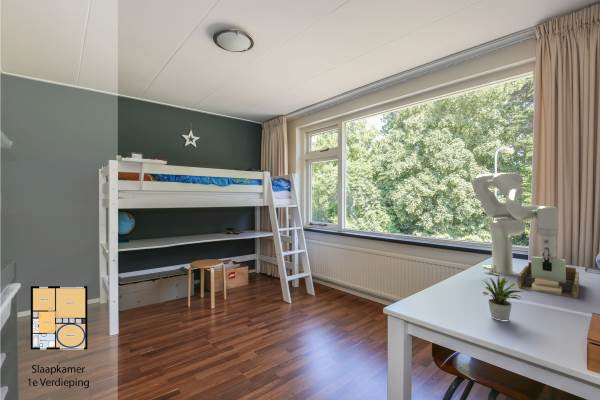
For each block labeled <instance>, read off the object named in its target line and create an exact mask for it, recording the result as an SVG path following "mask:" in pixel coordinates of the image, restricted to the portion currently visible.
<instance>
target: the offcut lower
mask: <svg viewBox="0 0 600 400" xmlns="http://www.w3.org/2000/svg"><path fill="white" fill-rule="evenodd" d="M532 290H535V291H534V292H537V291H540V292H539V293H543V292H546V293H545V294H549V293H552V294H551V295H554V294H558V295H557V296H560V295H562V286H559V288H558V289H557V288H551V287H545V286H538V285H535V282H533V284H532Z"/></svg>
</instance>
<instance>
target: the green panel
mask: <svg viewBox="0 0 600 400" xmlns="http://www.w3.org/2000/svg"><path fill="white" fill-rule="evenodd" d="M530 261H531V276H532V278H543V279H550V280H557V281H559V282H564V283H566V267H567V265H566V264H567V263H566V259H565V258H564V259H563V258H556V257H553V258H551V263H552V271H544V270H543V266H542V262H543V256H536V255H532V256H531V257H530Z"/></svg>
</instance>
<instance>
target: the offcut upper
mask: <svg viewBox="0 0 600 400" xmlns="http://www.w3.org/2000/svg"><path fill="white" fill-rule="evenodd" d="M535 285H538V286H545V287H551V288H557V289H558V288H559V281H557V280H550V279H543V278H535Z"/></svg>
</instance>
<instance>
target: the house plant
mask: <svg viewBox="0 0 600 400" xmlns="http://www.w3.org/2000/svg"><path fill="white" fill-rule="evenodd" d="M487 279H489V280H490V282H491V283H492V285H491V284H490V283H489V282H488V280H487ZM487 279H482V282H484V283H485V284H486V285H487V286H485V287H484V288H485V289H486V290H488V291H489V292H490V293H489V292H487V291H483V292H482V293H481V294H482V295H483V296H489V297H491V298H490V299H488V306H489V310H490V311H489V312H490V316H491V318H492V317H494V318H496V319H500V320H509V321H510V317H511V315H510V314H511V310H512V302H510V301H508V300H510V299H515V300H516V299H517V300H519V301H521V300H520V299H522V296H520V295H518V294H513V293H523V291H522V290H512V288H514V289H517V288H518V287H519V286H518V283H520V282H518V281H517V282H514V283H512V284H510V285H509V286H508V287H506V288H505V285H506V284H507V283H508V282H509V281H510V280H511V279H512V277H510V278H508V279H507V280H506V277H505V276H504V277H502V279H501V280H500V275H497V281H496V282H495V281H494V279H493V278H491V277H487ZM496 283H497V284H496ZM492 286H493V287H492ZM516 287H517V288H516ZM504 288H505V289H504ZM522 300H523V299H522Z"/></svg>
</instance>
